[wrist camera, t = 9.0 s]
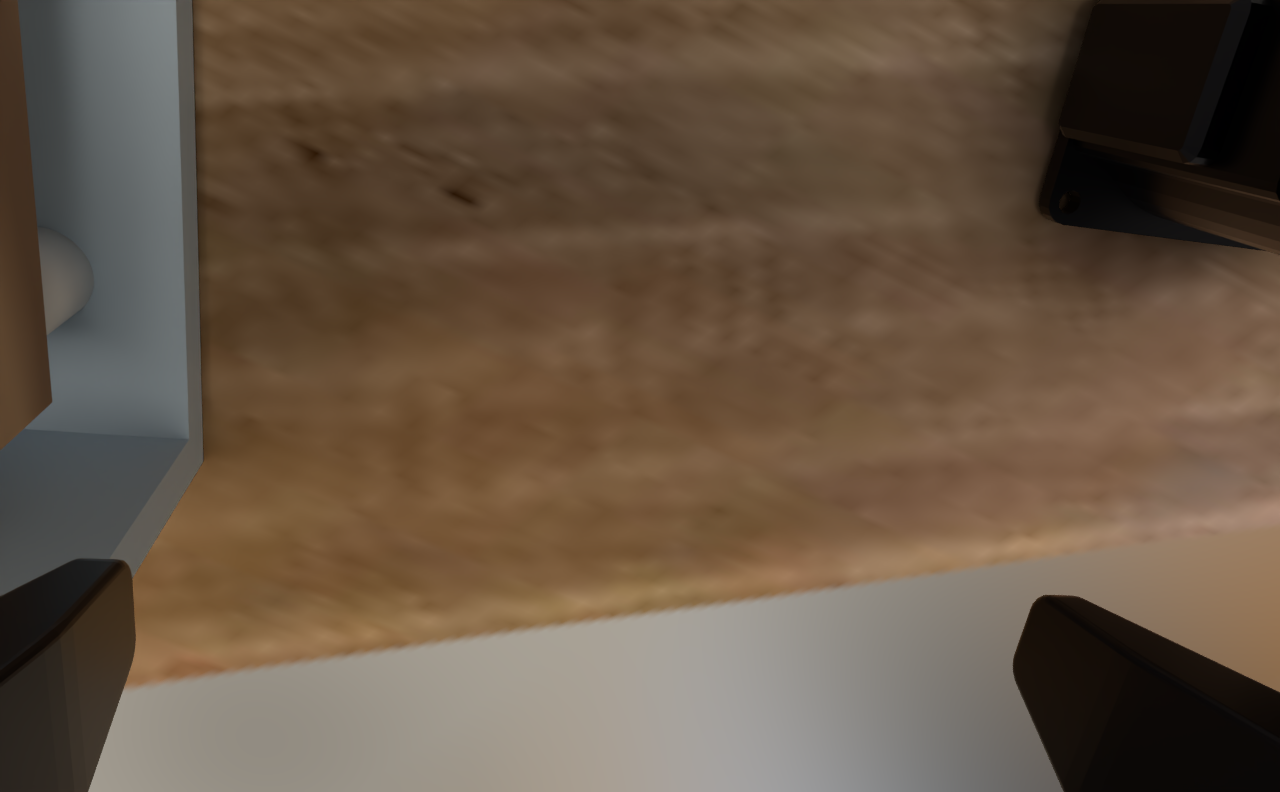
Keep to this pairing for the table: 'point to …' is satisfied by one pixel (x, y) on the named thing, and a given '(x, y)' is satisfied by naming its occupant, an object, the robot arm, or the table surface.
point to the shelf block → (18, 249)
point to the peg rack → (108, 284)
